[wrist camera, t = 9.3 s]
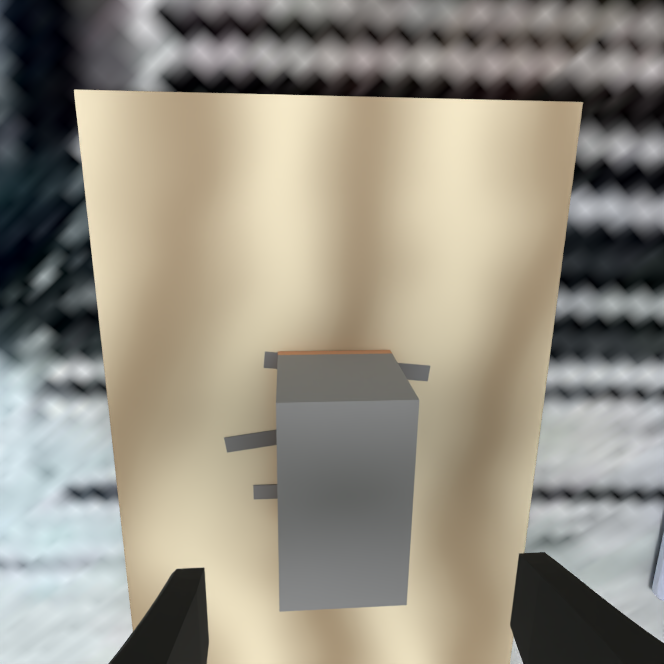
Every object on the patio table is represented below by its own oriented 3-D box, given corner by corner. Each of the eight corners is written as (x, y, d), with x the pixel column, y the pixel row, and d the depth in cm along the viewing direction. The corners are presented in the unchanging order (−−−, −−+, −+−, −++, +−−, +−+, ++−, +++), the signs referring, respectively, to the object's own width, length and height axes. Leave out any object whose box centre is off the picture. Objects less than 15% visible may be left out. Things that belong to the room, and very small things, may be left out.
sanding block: (390, 350, 20) (419, 399, 15) (382, 518, 22) (406, 605, 17) (278, 351, 19) (275, 403, 15) (280, 523, 21) (279, 611, 17)
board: (560, 107, 19) (583, 102, 18) (491, 684, 27) (503, 715, 25) (90, 96, 18) (73, 89, 17) (152, 706, 25) (144, 740, 24)
